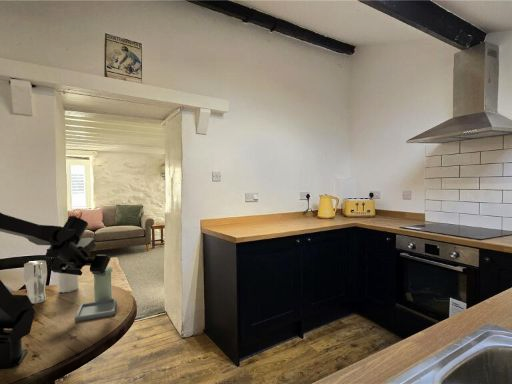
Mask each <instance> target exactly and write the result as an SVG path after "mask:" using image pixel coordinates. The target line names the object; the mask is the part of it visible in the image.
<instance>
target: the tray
mask: <svg viewBox="0 0 512 384" xmlns="http://www.w3.org/2000/svg"><path fill="white" fill-rule="evenodd" d="M116 306H117V298H116V297H115V298H112V299H108V300H102V301H96V302H95V301H90V302H84V303H81V304H80V305H79V308H78V309H77V312H76V314H75V316H74V323H78V322H84V321H90V320H94V319H100V318H105V317H111V316H115V312H116Z"/></svg>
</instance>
